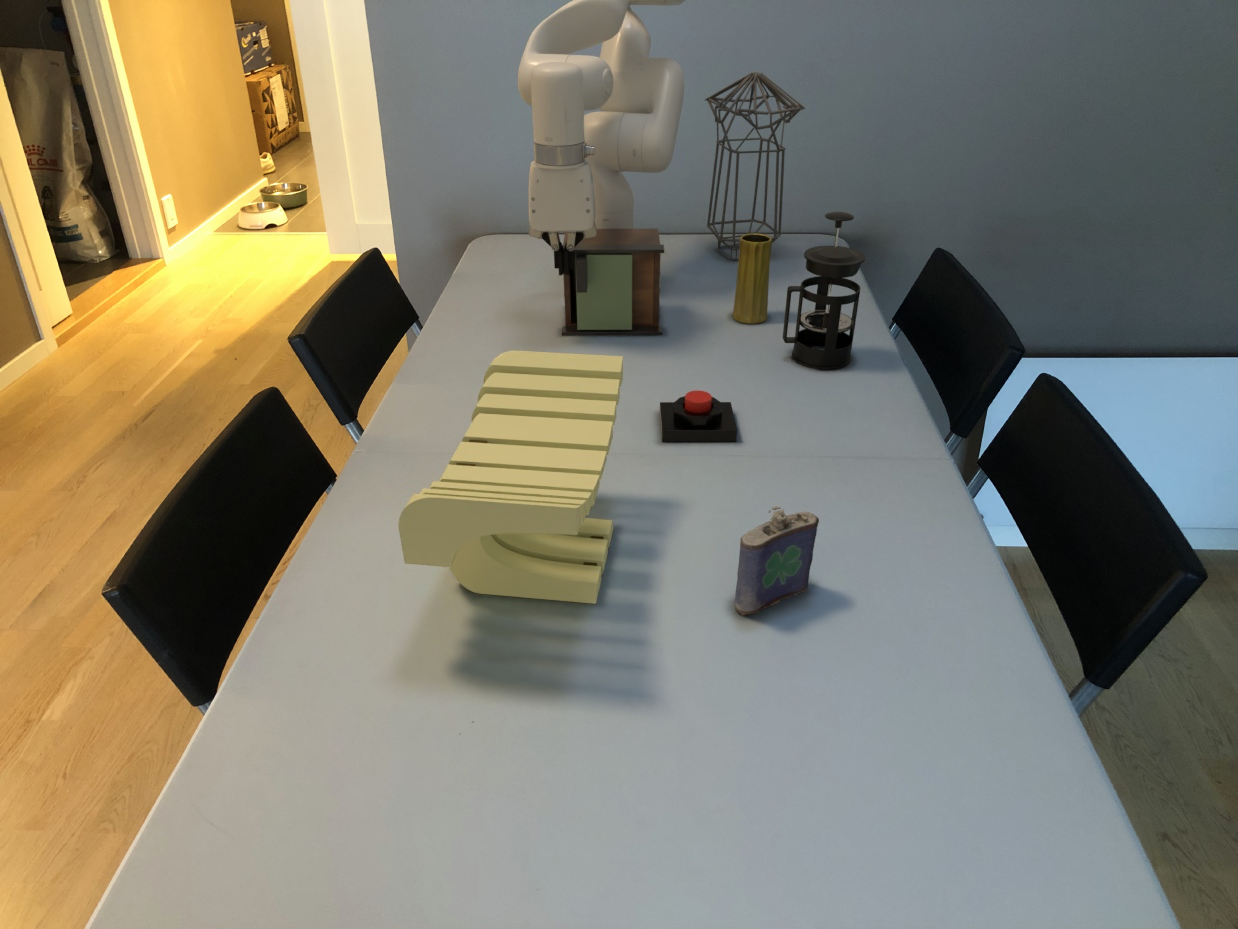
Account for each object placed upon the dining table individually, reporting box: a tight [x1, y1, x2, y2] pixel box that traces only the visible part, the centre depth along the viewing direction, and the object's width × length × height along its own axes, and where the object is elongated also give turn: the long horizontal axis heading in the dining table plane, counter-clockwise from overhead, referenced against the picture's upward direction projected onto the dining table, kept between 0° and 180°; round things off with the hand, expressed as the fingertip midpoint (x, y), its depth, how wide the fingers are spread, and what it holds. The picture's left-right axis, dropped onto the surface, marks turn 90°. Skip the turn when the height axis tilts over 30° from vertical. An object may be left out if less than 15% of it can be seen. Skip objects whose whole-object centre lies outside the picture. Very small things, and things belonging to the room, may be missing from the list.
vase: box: [731, 232, 773, 325], centre depth 149 cm, size 6×6×14 cm
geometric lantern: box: [704, 71, 806, 261], centre depth 173 cm, size 16×16×35 cm
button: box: [684, 390, 713, 413], centre depth 117 cm, size 4×4×2 cm
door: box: [575, 253, 632, 330], centre depth 141 cm, size 9×4×13 cm, turn 90°
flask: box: [733, 505, 820, 616], centre depth 87 cm, size 9×3×11 cm, turn 121°
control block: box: [659, 395, 738, 443], centre depth 118 cm, size 10×8×4 cm
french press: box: [782, 211, 866, 371], centre depth 132 cm, size 12×9×23 cm
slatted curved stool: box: [398, 350, 624, 605], centre depth 90 cm, size 30×16×18 cm, turn 172°
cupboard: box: [561, 228, 665, 336], centre depth 148 cm, size 17×13×15 cm
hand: (564, 272), depth 139 cm, fingers closed
